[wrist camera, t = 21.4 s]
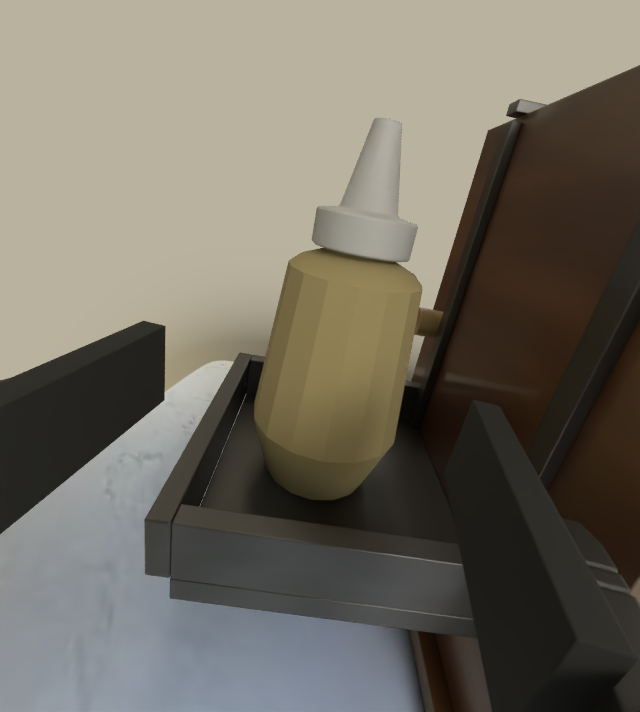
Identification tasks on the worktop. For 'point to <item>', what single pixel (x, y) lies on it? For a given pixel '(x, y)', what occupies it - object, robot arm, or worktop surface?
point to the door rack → (453, 407)
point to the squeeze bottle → (342, 335)
